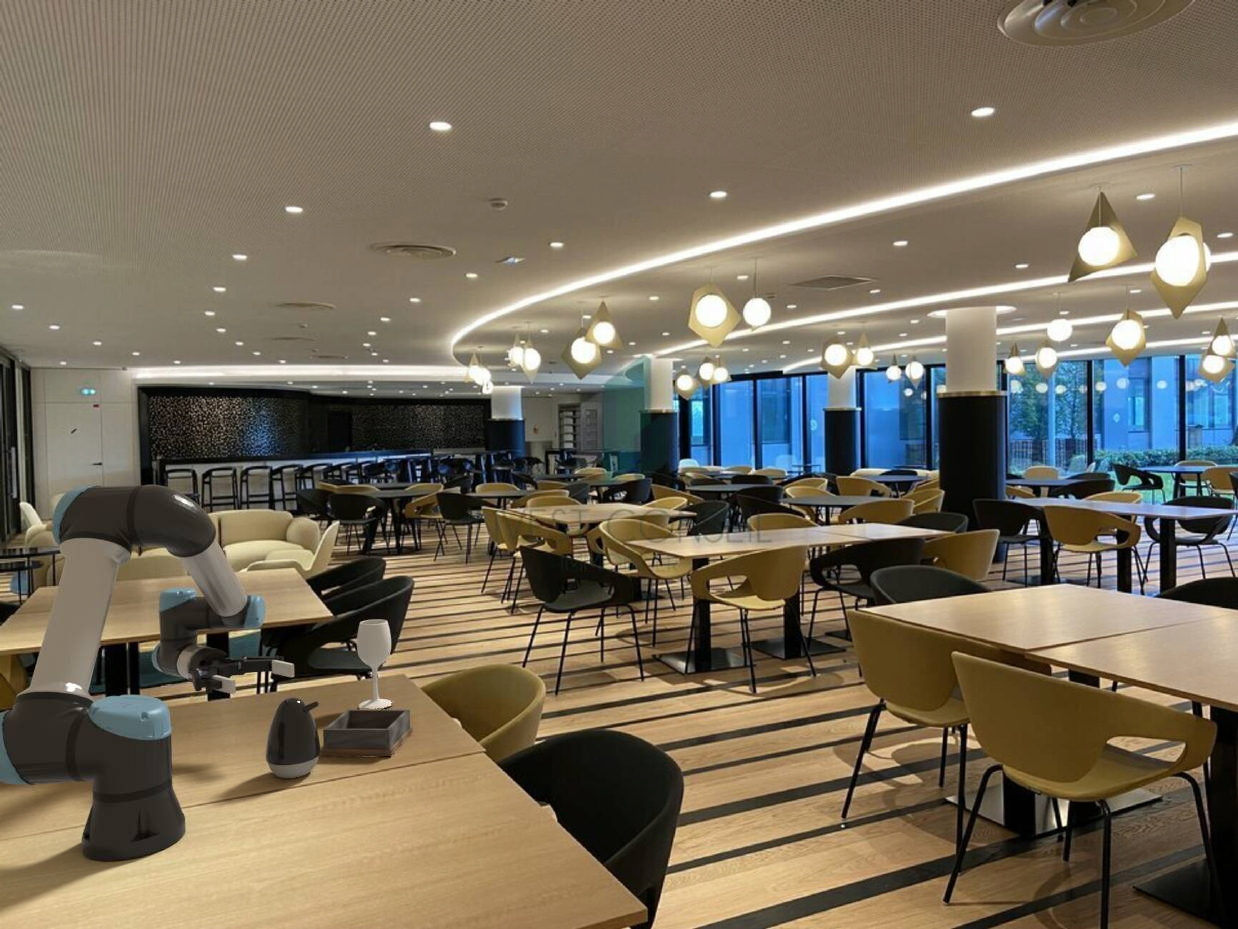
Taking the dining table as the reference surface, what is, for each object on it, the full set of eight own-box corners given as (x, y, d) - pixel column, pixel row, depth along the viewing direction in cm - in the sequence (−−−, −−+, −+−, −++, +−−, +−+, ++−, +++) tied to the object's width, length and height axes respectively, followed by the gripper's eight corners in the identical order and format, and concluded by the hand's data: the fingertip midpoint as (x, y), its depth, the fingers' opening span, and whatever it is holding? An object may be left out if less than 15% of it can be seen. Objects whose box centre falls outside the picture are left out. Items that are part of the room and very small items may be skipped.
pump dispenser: (311, 783, 173) (308, 705, 172) (257, 784, 173) (255, 705, 172) (329, 764, 183) (327, 690, 182) (278, 764, 183) (276, 690, 183)
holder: (391, 757, 186) (390, 730, 186) (320, 756, 187) (320, 730, 187) (412, 733, 201) (412, 709, 201) (347, 733, 202) (346, 709, 202)
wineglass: (398, 701, 227) (396, 618, 226) (386, 711, 218) (384, 625, 217) (365, 700, 227) (363, 618, 227) (351, 711, 219) (349, 625, 218)
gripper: (256, 668, 206) (315, 681, 194) (148, 696, 185) (207, 713, 173) (255, 635, 206) (314, 647, 194) (146, 660, 185) (206, 675, 173)
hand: (264, 678), depth 184 cm, fingers open, 13 cm apart
